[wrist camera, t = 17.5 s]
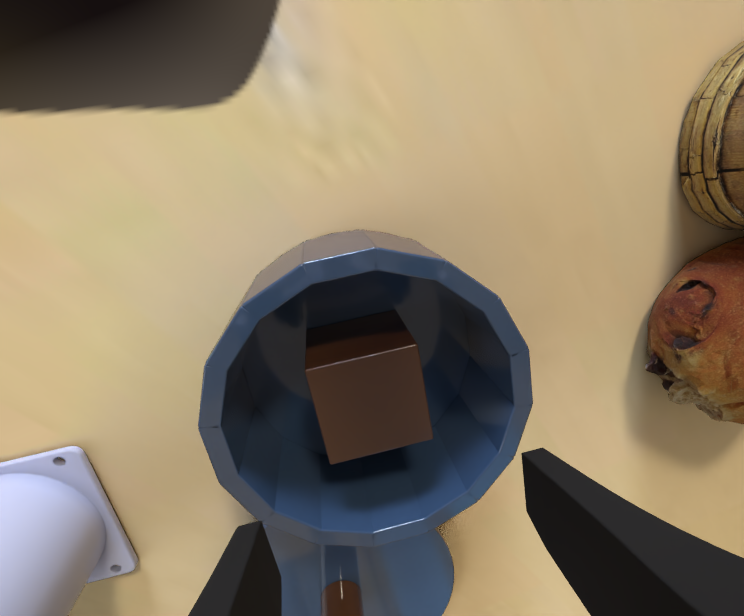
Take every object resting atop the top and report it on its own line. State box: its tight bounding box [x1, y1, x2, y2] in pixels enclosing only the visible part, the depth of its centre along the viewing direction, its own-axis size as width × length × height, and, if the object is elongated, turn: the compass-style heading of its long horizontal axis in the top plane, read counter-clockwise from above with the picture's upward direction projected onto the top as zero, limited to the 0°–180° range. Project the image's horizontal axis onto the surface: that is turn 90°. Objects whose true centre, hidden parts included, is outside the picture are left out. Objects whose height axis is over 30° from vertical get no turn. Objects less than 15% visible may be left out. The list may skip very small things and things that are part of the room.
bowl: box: [198, 230, 533, 547], centre depth 18 cm, size 13×13×6 cm
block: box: [305, 310, 433, 465], centre depth 18 cm, size 4×4×4 cm
